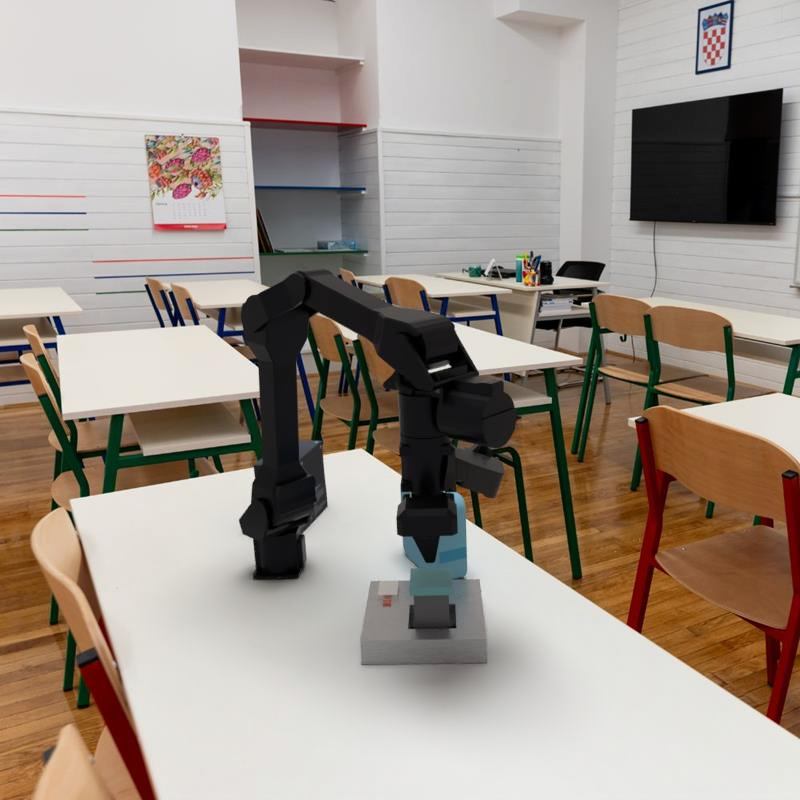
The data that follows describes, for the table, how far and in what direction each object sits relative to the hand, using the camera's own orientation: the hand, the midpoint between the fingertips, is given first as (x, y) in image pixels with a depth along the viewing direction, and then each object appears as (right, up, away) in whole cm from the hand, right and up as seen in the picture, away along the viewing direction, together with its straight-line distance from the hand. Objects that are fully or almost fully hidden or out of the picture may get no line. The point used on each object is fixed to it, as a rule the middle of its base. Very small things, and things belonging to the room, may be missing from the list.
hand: (430, 561), depth 89 cm
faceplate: (0, -9, +4) cm, 10 cm away
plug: (0, -10, +3) cm, 10 cm away
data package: (+1, -5, +21) cm, 22 cm away
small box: (-21, -2, +40) cm, 45 cm away
